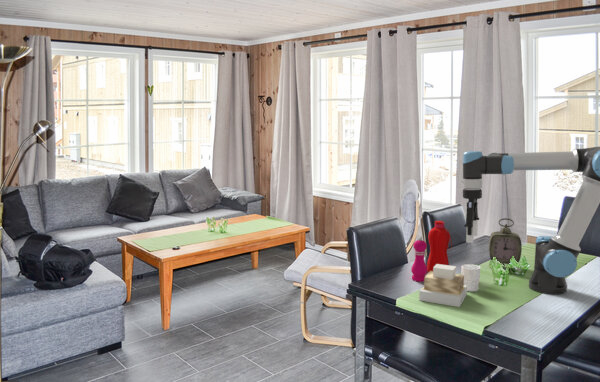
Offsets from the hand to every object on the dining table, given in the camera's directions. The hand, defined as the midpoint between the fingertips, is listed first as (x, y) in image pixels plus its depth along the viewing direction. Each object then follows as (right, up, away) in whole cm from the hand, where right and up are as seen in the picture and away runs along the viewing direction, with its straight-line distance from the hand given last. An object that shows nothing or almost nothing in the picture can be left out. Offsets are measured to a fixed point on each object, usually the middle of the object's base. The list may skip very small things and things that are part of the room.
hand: (471, 238), depth 220 cm
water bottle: (-5, -19, +31) cm, 37 cm away
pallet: (-13, -20, -4) cm, 24 cm away
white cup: (+2, -23, +8) cm, 24 cm away
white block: (-13, -15, -4) cm, 20 cm away
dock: (-13, -24, -3) cm, 27 cm away
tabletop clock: (+28, -18, +39) cm, 51 cm away
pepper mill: (-18, -21, +21) cm, 34 cm away
